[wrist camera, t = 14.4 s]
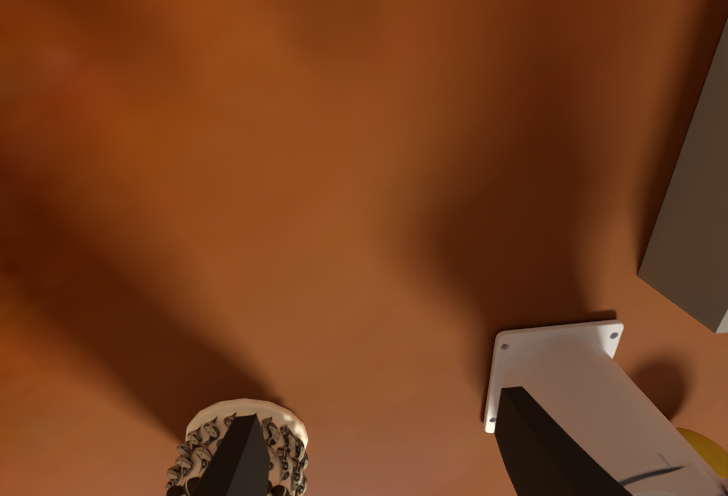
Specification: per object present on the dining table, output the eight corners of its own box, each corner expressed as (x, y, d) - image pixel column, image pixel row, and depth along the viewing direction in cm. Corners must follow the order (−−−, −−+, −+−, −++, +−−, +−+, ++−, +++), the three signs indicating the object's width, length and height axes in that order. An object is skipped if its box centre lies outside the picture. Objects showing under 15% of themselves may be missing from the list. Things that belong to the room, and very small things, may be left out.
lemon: (619, 456, 30) (704, 577, 23) (614, 418, 28) (708, 541, 21) (687, 435, 30) (796, 554, 23) (688, 394, 27) (812, 513, 20)
